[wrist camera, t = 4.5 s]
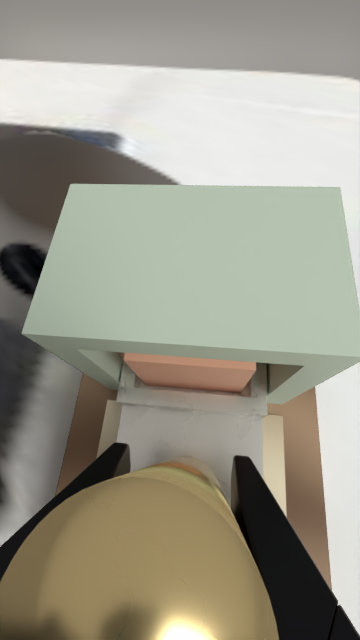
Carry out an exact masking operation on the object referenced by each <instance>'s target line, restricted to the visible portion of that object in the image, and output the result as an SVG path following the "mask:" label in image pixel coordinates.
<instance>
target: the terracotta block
mask: <svg viewBox="0 0 360 640" xmlns="http://www.w3.org/2000/svg"><path fill="white" fill-rule="evenodd" d="M124 361H125V362H126V363H127V364H128V366H129V367H130V368H131V369H132V370H133V371H134V372H135V373H136V374H137V376H138V377H139V378H140V379H141V380H142V381H143V382H144V383H145V384H146V385H147V386H159V387H170V388H182V389H194V390H206V391H218V392H229V393H241V392H242V390H243V389H244V387H245V386H246V384H247V383H248V381H249V380H250V379H251V377H252V376H253V374H254V373H255V371H256V362H245V361H232V360H218V359H205V358H191V357H178V356H164V355H151V354H137V353H125V355H124Z"/></svg>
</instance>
